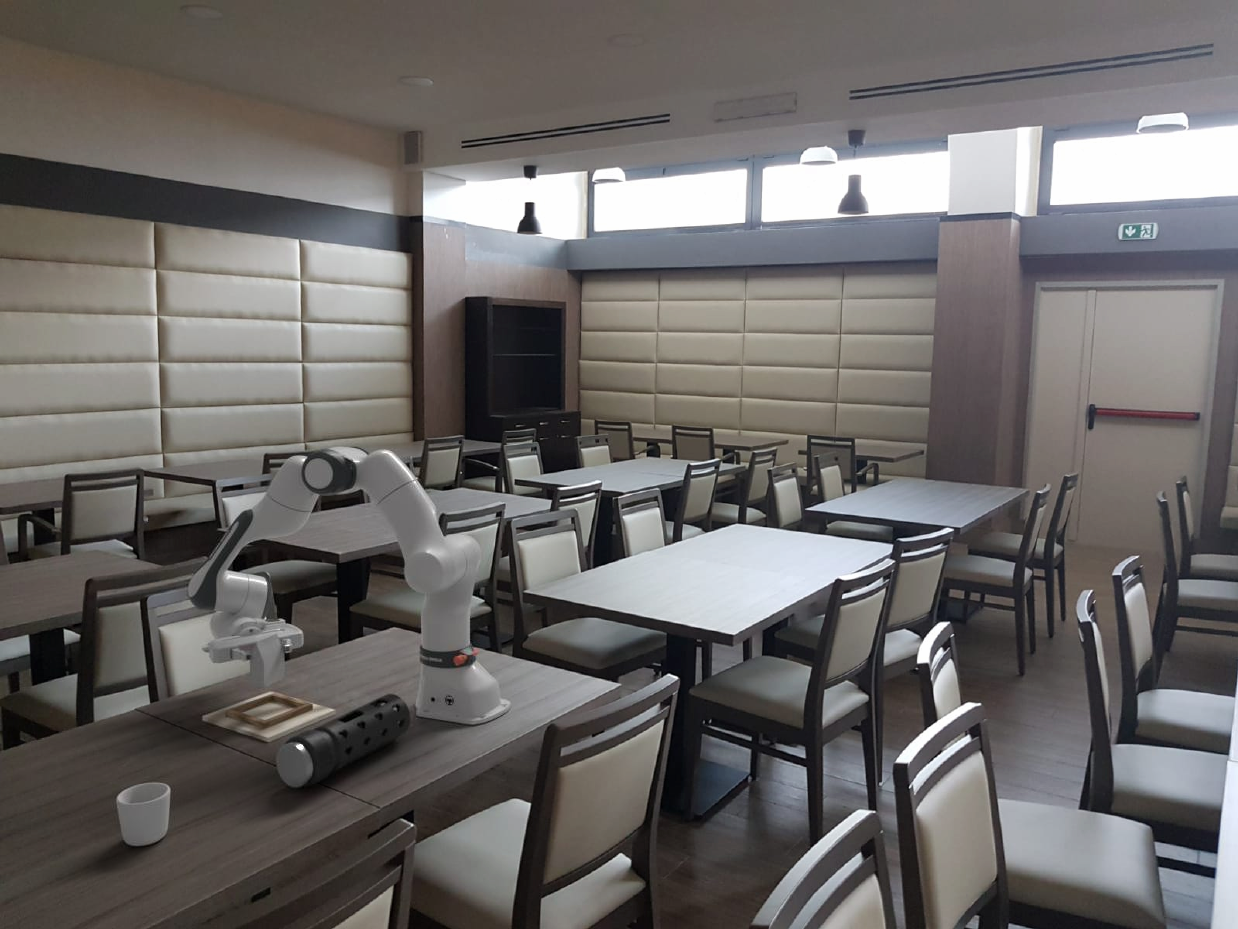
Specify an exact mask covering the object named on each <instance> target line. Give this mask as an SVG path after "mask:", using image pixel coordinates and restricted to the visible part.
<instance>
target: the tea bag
mask: <svg viewBox="0 0 1238 929" xmlns="http://www.w3.org/2000/svg"><path fill="white" fill-rule="evenodd" d="M285 673H286V668H285V652H284V651H283V648H282V646H281V644H280V641H279V639H278V635H277V634H274V635H271V636H269V637H267V638H264V639H262V640H260V641H257V642H255V646H254V650H253V652H252V655H251V660H249V675H250V676H249V677H250V678H249V681H250V682H249V683H250V687H256V688H257V687H258V688H263V689H265V688H267V687H268V686H272V685H273V684H275V683H277V682H279V681H281V680H283V679H285V678H286V674H285Z"/></svg>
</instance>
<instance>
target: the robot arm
mask: <svg viewBox="0 0 1238 929" xmlns="http://www.w3.org/2000/svg"><path fill="white" fill-rule="evenodd" d="M361 490H362V491H364V492H365V493H366V494H367V496H369V498H370V500H371V501H372V502H373V505H375V507H376V508H377V510H378V511H379V513H380V514H381V515H382V517H383V519H384V520H385V522H386V523H387V525H388V527H389V528H390V529H391V531H392V533H393V534H394V536H395V538H396V540H397V543H398V546H399V548H400V551H401V553H402V557H403V561H404V569H403V572H404V574H403V575H404V579H405V581H406V584H408V586H409V587H410V588H411V589H412V590H414V591H415V592H417V593H420V594H425V595H426V599H425V602H424V604H423V607H422V609H421V614H420V628H421V629H420V630H421V634H420V635H421V636H420V637H421V638H420V639H421V644H420V645H419V652H418V654H419V655H418V656H419V662H420V663H421V666H420V668H421V669H420V677H419V687H418V692H417V697H416V700H415V704H414V705H415V706H414V707H415V708H416V712H415V714H416V717H420V718H421V717H422V718H426V719H427V718H428V719H433V720H440V721H445V722H453V723H459V724H464V725H480V724H483V723H486V722H489V721H492V720H495V719H496V718H499V717H500V716H502V715H504V714H505V713H507V712H508V711H509V710H510V709H511V706H512V705H511V701H510V700H508V699H504V698H502V697H501V690H500V686H499V682H498V680H496V679H495V677H494V676H492V675H491V674H490V673H489V672H488V671H487V670H486V668H484V667H483V666H482V664H480V663H479V661H477V655H479V654H480V649H479V648H478V649H476V650H474V647H473V644H472V642H471V641H470V640H471V638H470V637H471V635H470V634H471V631H470V630H471V628H470V626H471V623H470V622H471V620H470V619H471V617H470V616H471V606H472V605H471V604H472V599H473V594H474V588H475V583H476V576H477V571H478V569H479V566H480V563H481V561H482V549H481V546H480V544H479V543H478V541H477V540H476V539H475V538H474V537H473V536H470V535H469V534H463V533H455V534H454V533H453V534H448V535H445V536H444V534H443V532H442V529H441V527H440V524H439V521H438V517H437V512H438V511H437V507H436V505H435V504H434V502H433V501H432V499H431V498H430V496H429V494H428V493H427V492H426V491H425V489H424V487H423V486H422V485H421V483H420V482H419V481H418V479H417V478H416V476H415V474H413V472H412V471H411V470H410V468H409V467H408V466H407V465H406V464H405V463H404V461H402V460H401V459H400V458H399V456H398V455H396V454H395V453H394V452H393V451H391V450H389V449H378V450H374V451H372V452H370V451H368V450H366V449H365V448H362V447H358V446H332V447H329V448H322V449H321V448H320V449H319V450H316V451H313V453H310V454H309V455H308V456H306V455H293V456H291V457H289V458H287V459H286V460H285V462H284V463H283V464H282V465H281V467H280V468H279V470H278V471H277V473H276V474H275V476H274V477H273V479H272V481H271V483H270V484H269V487H268V488H267V491H266V493H265V494H264V496H263V498H262V499H260V501H259V502H257V503H256V504H255V505H253V507H251V508H250V509H249V508H248V509H245V510H242V511H241V512H240V513H239V515H237V517H236V518H235V519H234V520H233V522H231V524H230V526H229V527H228V529H227V530H226V531H225V532H224V534H223V536H222V537H221V538H220V540H219V542H218V543H217V544H216V545H215V547H214V548H213V550H212V551H211V553H210V554H209V556H208V557H207V558H206V560H205V561H204V563H203V564H202V565H201V566H200V567H199V568H198V569H197V570H196V571H195V572H194V574H193V575H192V576H191V579H190V581H189V583H188V586H187V590H186V591H187V593H186V595H187V597H188V599H189V600H190V603H191V604H192V605H193V606H194V607H195V608H196V610H200V611H201V610H202V611H211V612H212V611H215V612H214V613H213V614H212V616H211V617H210V620H209V630H210V632H211V635H212V636H213V638H214V639H212V640H209V641H208V643H207V644H206V645H202V648H201V650H202V651H203V652H204V653H208V657H209V660H210V661H211V662H212V663H213V664H223V663H227V662H232V661H233V662H234V661H242V662H247V661H250V660H251V655H252V652H253V650H254V646H255V642H257V641H260V640H262V639H264V638H267V637H269V636H271V635H274V634H277V635H278V639H279V641H280V644H281V646H282V648H283V651H284V654H289V653H292V652H293V650H294V649H298V648H301V647H303V645H304V632H303V630H301V629H300V628H299V627H297V626H296V625H293V624H290V623H286V620H285V619H283V618H273V619H272V618H271V619H270V618H268V619H267V618H266V617H267V616H268V614H269V612H270V610H271V606H272V605H273V604H272V603H273V599H274V598H273V590H272V587H271V585H270V583H269V581H268V579H267V578H265V577H264V576H260V575H255V574H251V573H247V572H245V573H244V572H238V571H233V570H228V569H229V567H230V565H231V564H232V563H233V561H234V560H235V559H236V557H237V556H238V555H239V553H240V552H241V550H242V549H243V548H244V547H245V546H247V545H248V544H249V543H253V542H255V541H260V540H265V539H273V538H274V539H275V538H283V537H284V538H285V537H287V536H290V535H293V534H295V533H297V532H298V531H300V530H301V529H302V528H303V527H304V526H305V524H306V523H307V521H308V520H309V518H310V516H311V513H312V512H313V509H314V507H315V505H316V503H317V501H318V499H319V497H320V496H334V495H335V496H336V495H348V494H351V493H354V492H357V491H361Z"/></svg>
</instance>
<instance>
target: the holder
mask: <svg viewBox="0 0 1238 929" xmlns="http://www.w3.org/2000/svg"><path fill="white" fill-rule="evenodd" d="M336 712H337V710H336V709H334V708H330V707H327V706H324V705H319V704H316V703H312V702H309V701H306V700H303V699H299V698H295V697H292V696H290V695H289V696H288V695H285V694H281V693H278V692H275V691H268V692H264V693H262V694H259V695H257V696H254V697H251V698H248V699H246V700H243V701H240V702H237V703H235V704H231V705H229V706H227V707H224V708H220V709H218V710H216V711H213V712H211V713H208V714H207V713H206V714H204V715H202V722H206V723H208V724H212V725H215V726H217V727H221V728H224V729H228V730H230V731H234V732H236V733H240V734H243V735H245V736H249V737H251V736H252V738H254V739H257V740H260V739H261V740H260V741H264V742H267V743H271V742H273V741H275V740H277V739H280V738H282V737H285V736H287V735H290V734H292V733H294V732H297V731H299V730H301V729H304V728H305V727H308V726H312V725H313V724H315V723H319V722H320V721H323V720H325V719H327V718H329V717H333V716H334V715H337V714H336Z"/></svg>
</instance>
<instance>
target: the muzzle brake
mask: <svg viewBox="0 0 1238 929" xmlns="http://www.w3.org/2000/svg"><path fill="white" fill-rule="evenodd" d="M394 708H396V710H395V709H394ZM410 726H411V713H410V709H409V707H408V705H407V703H406V702H405V701H404V699H403V698H402V697H400V696H399V695H398V694H394V693H387V694H385V695H383V696H381V697H378V698H377V699H373V700H372V701H370V702H368V703H365V704H363V705H361V706H359V707H356V708H355V709H353V710H351V711H348V712H346V713H344V714H342V715H340V716H338V717H335V718H334V719H331V720H329V721H327V722H325V723H323V724H321V725H319V726H316V727H315V728H313V729H307V730H305V731H302V732H300V733H298V734H296V735H295V736H292V737H290V738H288V739H287V740H286V741H285V743H284V744H283V745H282V746H281V747H280V748H279V749H278V751H277V753H276V756H275V757H276V758H275V764H276V765H275V766H276V769H277V772H278V775H279V777H280V778H281V780H282V781H283V782H284V783H285V784H286V785H287V786H288V787H290V788H294V789H297V788H301V787H311V786H312V785H315V784H316V783H319V782H322V781H324V780H326V779H327V778H330V777H332V776H333V775H334V772H337V770H339V769H341V768H343V767H345V766H348V765H349V764H350V763H352V762H357V761H358V760H359V759H360V758H362V757H365V758H366V756H368V755H370V754H371V753H375V752H376V751H377V750H380V749H381V748H383V747H384V746H386V745H389V744H390V743H392V742H394V741H396V739H398V738H399V737H400V736H402V735H404V734H406V733H407V731H408V730H409V728H410Z"/></svg>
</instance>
